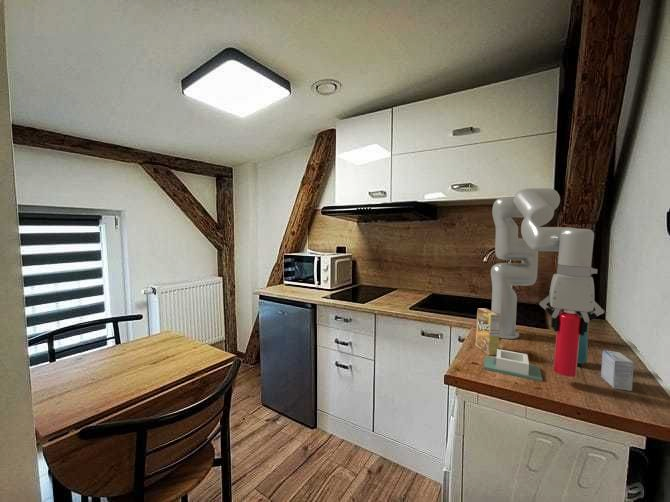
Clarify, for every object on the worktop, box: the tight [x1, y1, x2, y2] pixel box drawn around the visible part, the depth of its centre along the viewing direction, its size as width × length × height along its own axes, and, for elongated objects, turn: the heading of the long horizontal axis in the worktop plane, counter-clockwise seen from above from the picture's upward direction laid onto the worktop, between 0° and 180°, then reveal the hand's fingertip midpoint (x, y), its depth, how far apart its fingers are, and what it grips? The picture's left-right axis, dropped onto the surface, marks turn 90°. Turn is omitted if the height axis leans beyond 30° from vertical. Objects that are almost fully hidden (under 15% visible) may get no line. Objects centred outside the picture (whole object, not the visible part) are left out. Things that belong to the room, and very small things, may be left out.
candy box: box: [475, 307, 501, 356], centre depth 113 cm, size 9×4×15 cm, turn 6°
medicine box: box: [600, 350, 635, 392], centre depth 89 cm, size 8×4×9 cm, turn 158°
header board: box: [483, 349, 543, 383], centre depth 99 cm, size 10×16×4 cm, turn 60°
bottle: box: [553, 310, 581, 378], centre depth 88 cm, size 5×5×20 cm
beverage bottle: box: [576, 311, 590, 364], centre depth 102 cm, size 6×7×20 cm
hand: (568, 331), depth 88 cm, fingers closed on bottle, 5 cm apart
